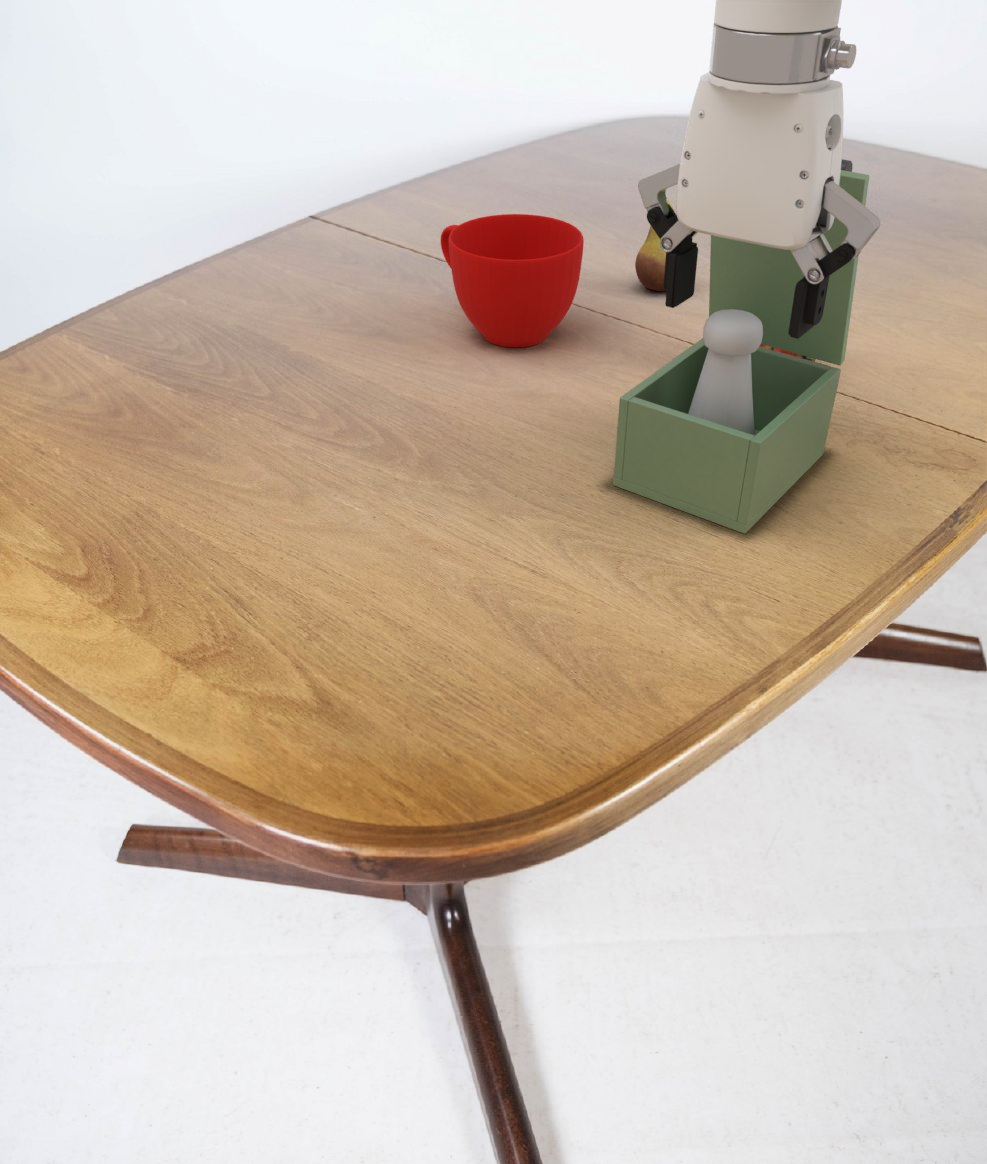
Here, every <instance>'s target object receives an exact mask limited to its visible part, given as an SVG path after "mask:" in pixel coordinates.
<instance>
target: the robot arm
mask: <svg viewBox="0 0 987 1164" xmlns="http://www.w3.org/2000/svg"><path fill="white" fill-rule="evenodd" d="M842 2H843V0H715V7H714V17H713V18H714V19H713V25H712V27H713V28H712V37H711V48H710V58H709V68H708V69H709V70H708V71H707V72H706V73H704V74H702V75H700V77H699V81H698V84H697V87H696V91H695V92H694V97H693V99H692V104H691V108H690V112H689V116H688V119H687V123H686V124H687V125H686V128H685V133H684V139H683V145H682V150H681V156H680V162H679V163H677V164H674V165H672V166H669V167H667V168H664V169H662V170H660V171H657V172H655V173H652V174H650V175H648V176H646V177H643V178H642V179H640V180H639V181H638V183H637V190H638V192H639V195H640V198H641V201H642V204H643V206H644V209H646V212H647V213H646V220H647V222H648V224H649V225H651V226H652V228H653V229H654V231H655V232H656V234H657V235H658V237H659V238H660V247H661V249H662V250H663V251H665V252H666V260H665V273H664V289H665V290H666V291H665V303H664V304H665V307H667V308H671V309H674V308H676V307H678V306H680V305H681V304H683V303H684V302H687V300H689V299H691V298H693V296H694V294H695V286H696V278H697V277H696V275H697V266H698V256H699V247H698V242H693V238H694V237H695V236H696V235H697V234H698V233H700V234H703V235H708V236H711V235H713V236H717V237H722V238H727V239H732V240H736V241H741V242H746V243H751V244H756V245H761V246H766V247H771V248H777V249H783V250H790V251H791V253H792V254H793V256H794V258H795V260H796V262H797V263H798V265H799V267H800V269H801V271H802V272H803V274H804V277H803V279H801V280H800V281H798V282H797V284H796V287H795V293H794V299H793V306H792V312H791V319H790V325H789V331H788V334H789V335H790V337H793V338H797V339H799V338H800V337H801V336H803V335H804V334H805V333H806V332H808V331H809V330H810V329H811V328H813V327H814V325H817V324H818V323H819V322H820V320H821V318H822V316H823V311H824V305H825V300H826V294H827V288H828V282H829V277H830V275H831V274H832V273H834V272H835V271H837V270H838V269H840V268H841V267H843V266H844V265H846V264H847V263H848V262H850V261H851V260H852V259H854V258H855V257H857V256H858V255H859V256H860V254H861V252H862V250H863V249H864V248H865V247H866V245H867V244H868V243H869V242H870V240H871V239H872V237H873V236H874V235H875V234H876V232H877V231H878V230H879V229H880V227H881V222H882V221H881V219H880V218H879V216H878V215H877V214H875V213H874V212H873V211H871V210H870V209H869V208H867V207H866V205H865V206H864V205H862V204H861V203H860V202H859V201H857V200H856V199H855V198H854V197H852V196H851V195H850V194H849V193H847V192H846V191H845V190H844V189H842V188H841V187H840V186H839V183H840V173H841V161H842V159H843V145H844V89H843V83H842V82H841V81H838V80H834V79H831V75H834V73H835V71H837V70H839V69H840V68H841V69H851V68H852V67H853V65H854V63H855V60H856V57H857V45H856V44H854V43H846V42H845V41H844V40H841V31H842V27H839V26H838V25H839V22H840V21H839V20H840V15H841V9H842ZM674 186H676V196H675V197H676V199H675V209H674V208H673V209H674V210H673V209H672V207H673V206H672V207H671V206H670V205H669V204H667V201H668V200H667V199H668V198H667V194H666V192H667V189H669V188H671V187H674ZM666 200H667V201H666ZM674 211H675V212H674ZM834 218H837V219H838V220H839V221H840V222H842V223H843V224H844V225H845V226H846V227H847V229H848V234H847V236H846V237H845V239H844V240H843V242H842V243H841V244H840V246H839V247H838V248H836V249H835V250H832V248H831V246H830V245H829V243H828V241H827V239H826V237H825V236H824V234H823V233H825V232H827V231H829V230H830V228H831V227H832V225H833V222H834Z"/></svg>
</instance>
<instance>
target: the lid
mask: <svg viewBox="0 0 987 1164" xmlns="http://www.w3.org/2000/svg"><path fill="white" fill-rule="evenodd" d="M853 165H854V164H853V162H852V160H849V159H843V158H842V161H841V173H840V183H839V186H840V187H841V188H842V189H844V190H845V191H846V192H847V193H849V194H850V195H851V196H852V197H854V198H855V199H856V200H857V201H859V202H860V203H861V204H862V205H864V206H865V207H866V205H867V198H868V197H867V196H868V191H869V190H868V189H869V181H870V175H869V174H865V173H859V172H854V171H853V168H854V167H853ZM823 234H824V236H825V237H826V239H827V241H828V243H829V245H830V246H831V248H832V250H835V249H836V248H838V247H839V246H840V244H841V243H842V242H843V240H844V239H845V237H846V236H847V234H848V229H847V227H846V226H845V225H844V224H843V223H842V222H840V221H839V220H838V219H837V218H834V222H833V225H832V227H831V228H830V230H829V231H827V232H825V233H823ZM709 257H710V258H709V293H708V294H709V298H708V299H709V300H708V301H709V303H708V318H709V317H710V316H711V315H712V314H713V313H714V312H717V311H720V310H727V309H735V310H743V311H747V312H750V313H752V314H754V315H755V316H757V317H758V318H759V319H760V320H761V322H762V326H763V337H762V342H761V344H763V345H766V346H770V347H774V348H777V349H781V350H785V351H788V352H792V353H795V354H799V355H803V356H806V357H810V358H814V359H816V360H817V361H820V362H821V361H822V362H826V363H828V364H832V365H836V366H839V367H841V366H842V365H843V363H844V362H845V359H846V352H847V344H848V338H849V330H850V322H851V316H852V309H853V308H852V307H853V301H854V293H855V286H856V278H857V271H858V264H859V257H860V254H859V255H858V256H857V257H855V258H854V259H852V260H851V261H850V262H848V263H847V264H846V265H844V266H843V267H841V268H840V269H838V270H837V271H835V272H834V273H832V274H831V275H830V277H829V282H828V288H827V294H826V300H825V305H824V311H823V316H822V318H821V320H820V322H819V323H818V324H817V325H814V327H813V328H811V329H810V330H809V331H808V332H806V333H805V334H804V335H803V336H801V337H800V338H799V339H797V338H793V337H790V335H789V334H788V331H789V325H790V319H791V312H792V306H793V299H794V293H795V287H796V284H797V282H798V281H800V280H801V279H803V277H804V274H803V272H802V271H801V269H800V267H799V265H798V263H797V262H796V260H795V258H794V256H793V254H792V253H791V251H790V250H783V249H777V248H771V247H766V246H761V245H756V244H751V243H746V242H741V241H736V240H732V239H727V238H722V237H717V236H713V235H710V256H709Z"/></svg>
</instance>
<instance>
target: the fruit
mask: <svg viewBox="0 0 987 1164" xmlns="http://www.w3.org/2000/svg"><path fill="white" fill-rule="evenodd" d="M666 201H667V204H669V205H670V206H671V207H672V209H673V210H674V212H675V213H676V210H675V209H674V208H673V205H672V204H671V203H670V201H668V200H667V199H666ZM649 225H650V224H649ZM665 260H666V252H665V251H663V250H662V249H661V247H660V238H659V237H658V235H657V234H656V232H655V231H654V229H653V228H652V226H651V225H650V226H649V230H648V234H647V235H646V239H645V240H644V242H643V244H642V245H641V247H640V249H639V250H638V252H637V255H636V257H635V262H634V266H635V267H634V268H635V273H636V276H637V278H638V281H639V282H640V284H641V285H642V286H643V287H644V288H646V289H648V290H653V291H656V292H666V290H665V289H664V273H665Z"/></svg>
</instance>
